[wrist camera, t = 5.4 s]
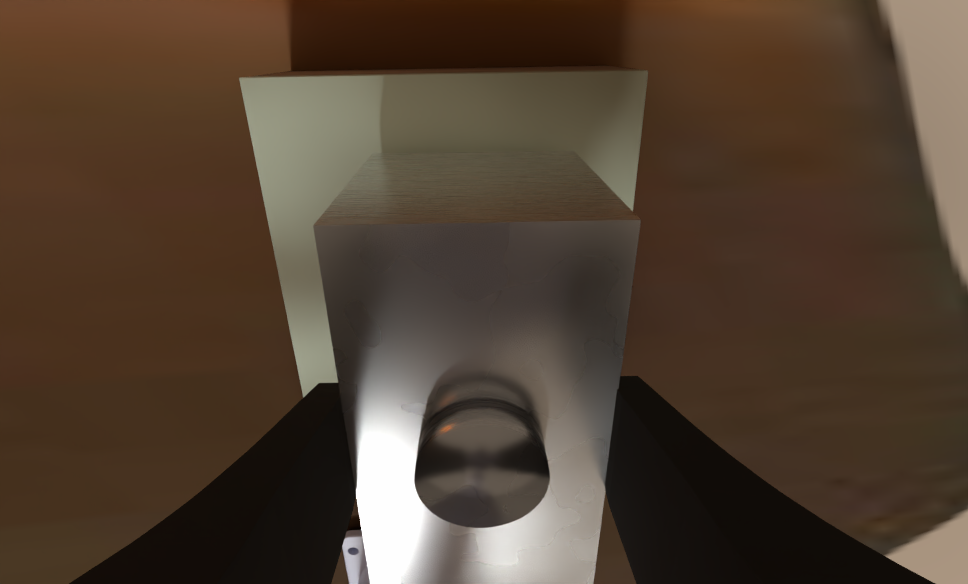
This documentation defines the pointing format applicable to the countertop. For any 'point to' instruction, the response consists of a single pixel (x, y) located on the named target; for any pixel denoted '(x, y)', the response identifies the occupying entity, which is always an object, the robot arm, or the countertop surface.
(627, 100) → the stand
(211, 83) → the countertop surface
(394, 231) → the housing
